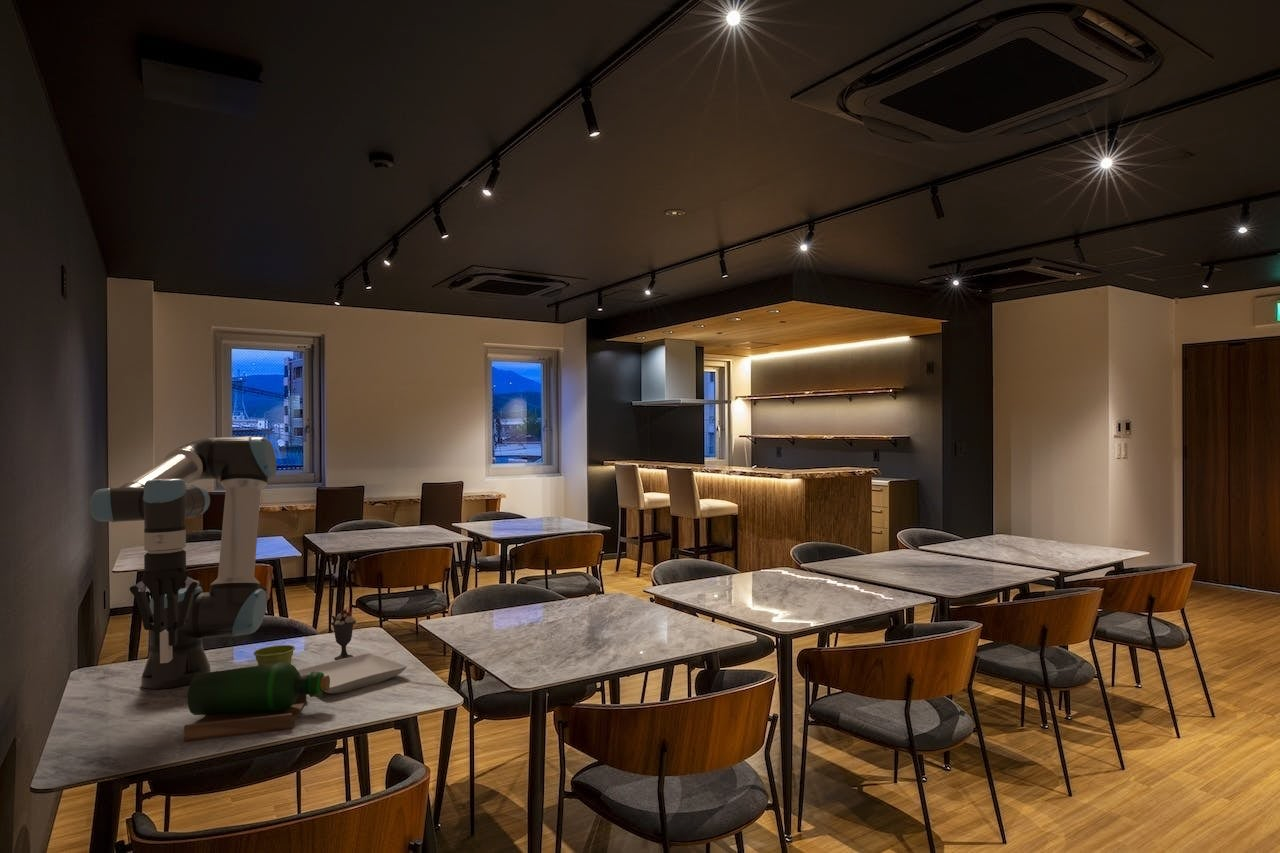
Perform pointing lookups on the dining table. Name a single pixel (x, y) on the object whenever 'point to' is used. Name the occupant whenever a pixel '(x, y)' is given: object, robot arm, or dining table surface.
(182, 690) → the dining table surface
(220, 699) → the bottle
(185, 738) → the cradle
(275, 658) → the plant pot
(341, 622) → the sundae
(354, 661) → the salad plate
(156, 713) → the dining table surface
